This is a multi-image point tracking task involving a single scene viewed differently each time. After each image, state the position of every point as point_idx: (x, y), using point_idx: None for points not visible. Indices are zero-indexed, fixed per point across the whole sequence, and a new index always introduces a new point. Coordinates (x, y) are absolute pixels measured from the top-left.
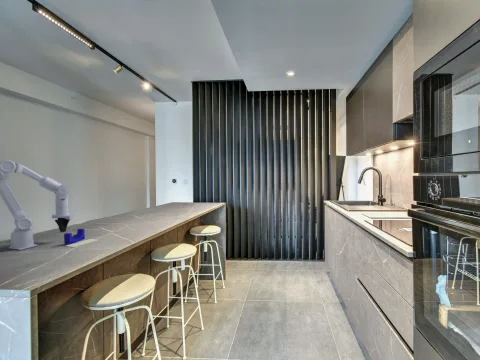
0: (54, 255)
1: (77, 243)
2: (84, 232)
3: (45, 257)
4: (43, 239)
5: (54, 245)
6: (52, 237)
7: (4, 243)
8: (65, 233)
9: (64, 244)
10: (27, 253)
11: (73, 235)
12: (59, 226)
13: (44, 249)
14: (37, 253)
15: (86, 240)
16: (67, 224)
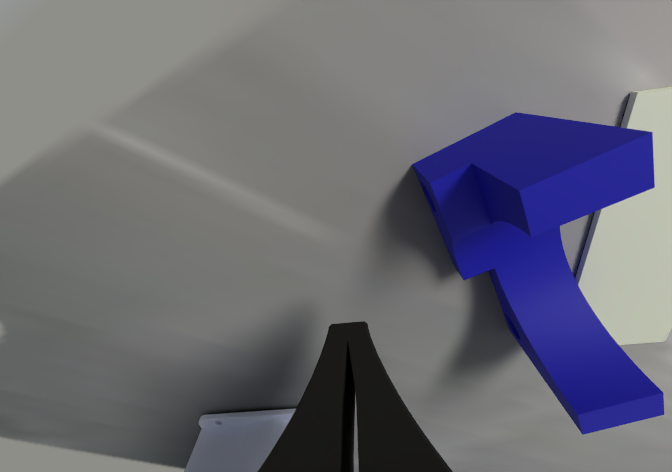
0: (658, 440)
1: (620, 278)
2: (582, 123)
3: (631, 463)
4: (109, 316)
5: (434, 361)
6: (68, 247)
7: (48, 445)
8: (584, 422)
9: (513, 334)
10: (452, 467)
11: (454, 241)
12: (351, 465)
13: (469, 418)
14: (511, 454)
15: None
16: (411, 416)
